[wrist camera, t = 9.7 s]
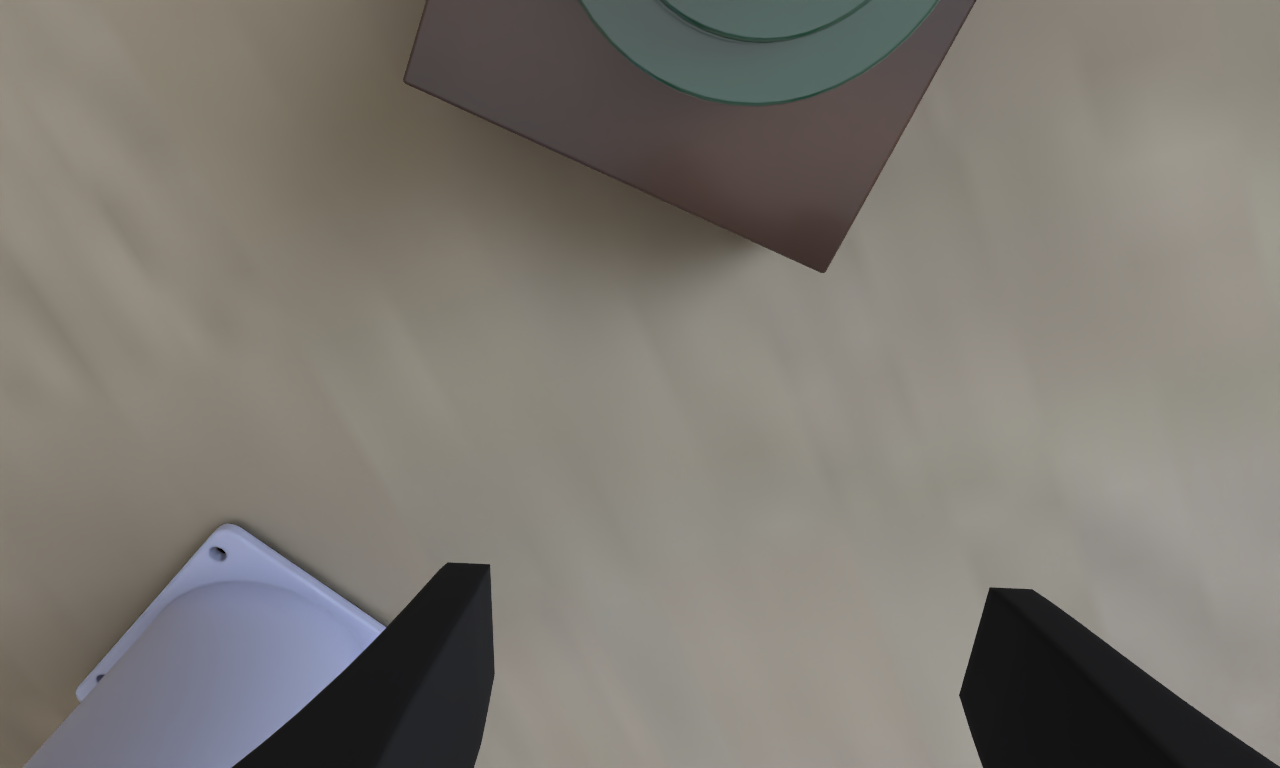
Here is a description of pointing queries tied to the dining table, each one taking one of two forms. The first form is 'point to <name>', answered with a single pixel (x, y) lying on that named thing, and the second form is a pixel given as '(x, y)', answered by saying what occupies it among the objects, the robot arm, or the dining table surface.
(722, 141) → the block
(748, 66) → the bottle
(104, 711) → the robot arm
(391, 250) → the dining table surface
